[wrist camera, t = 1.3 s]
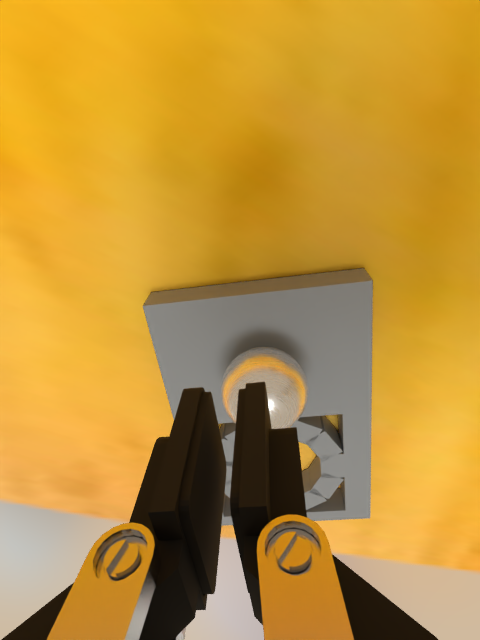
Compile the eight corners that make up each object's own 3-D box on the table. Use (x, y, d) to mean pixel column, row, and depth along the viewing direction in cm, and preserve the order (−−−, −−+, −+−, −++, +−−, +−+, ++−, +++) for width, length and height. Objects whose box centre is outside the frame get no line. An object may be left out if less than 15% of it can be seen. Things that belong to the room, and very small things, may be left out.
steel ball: (300, 327, 28) (310, 375, 23) (306, 394, 31) (315, 451, 26) (218, 335, 29) (209, 384, 24) (230, 400, 32) (224, 457, 26)
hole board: (364, 268, 29) (372, 280, 27) (364, 495, 40) (370, 518, 37) (151, 292, 31) (142, 305, 28) (206, 504, 41) (203, 526, 39)
